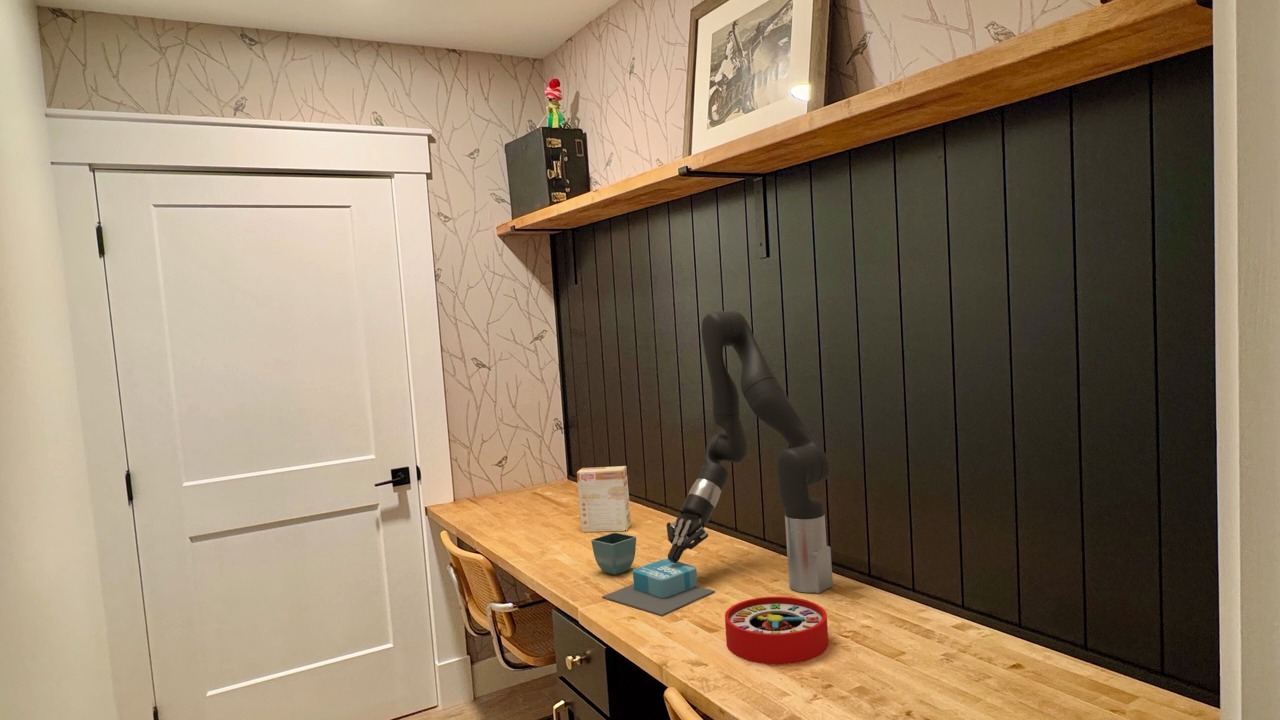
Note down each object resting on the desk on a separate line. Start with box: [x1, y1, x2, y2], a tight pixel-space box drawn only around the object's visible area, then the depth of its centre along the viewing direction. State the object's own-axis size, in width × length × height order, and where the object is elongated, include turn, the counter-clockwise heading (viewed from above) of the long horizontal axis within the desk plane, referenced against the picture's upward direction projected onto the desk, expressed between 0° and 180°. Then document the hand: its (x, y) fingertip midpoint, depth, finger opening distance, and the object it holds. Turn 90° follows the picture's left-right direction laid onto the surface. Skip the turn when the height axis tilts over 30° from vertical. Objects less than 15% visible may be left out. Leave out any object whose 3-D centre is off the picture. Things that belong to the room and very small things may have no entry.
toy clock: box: [724, 596, 829, 665], centre depth 156 cm, size 20×6×20 cm
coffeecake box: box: [576, 465, 632, 533], centre depth 251 cm, size 15×7×20 cm, turn 80°
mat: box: [601, 583, 716, 617], centre depth 188 cm, size 20×18×1 cm
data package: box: [632, 558, 698, 598], centre depth 192 cm, size 12×4×12 cm
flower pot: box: [590, 531, 637, 576], centre depth 208 cm, size 9×9×9 cm
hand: (671, 561), depth 193 cm, fingers closed
